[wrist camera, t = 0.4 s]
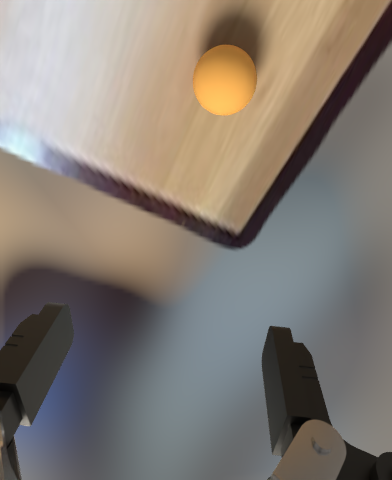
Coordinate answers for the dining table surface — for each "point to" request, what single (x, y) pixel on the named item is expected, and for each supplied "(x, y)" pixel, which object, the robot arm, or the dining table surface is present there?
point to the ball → (224, 79)
